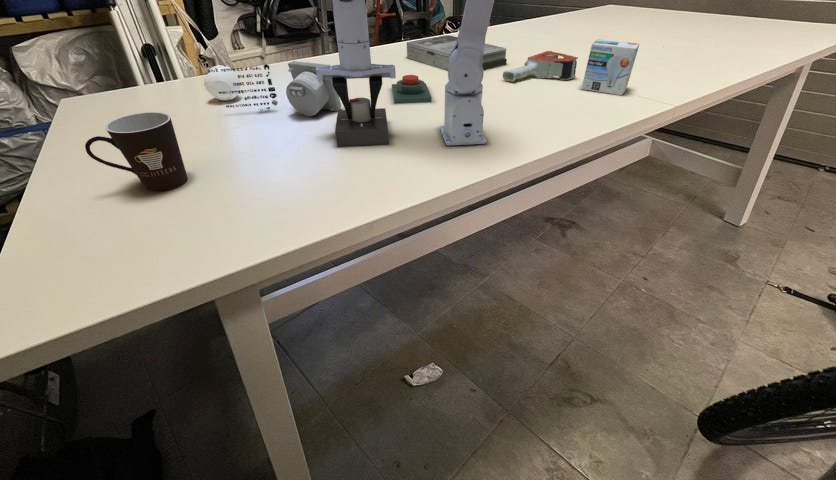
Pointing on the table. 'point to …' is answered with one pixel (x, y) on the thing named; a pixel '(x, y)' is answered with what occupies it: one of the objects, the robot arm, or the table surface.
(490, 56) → the hard drive
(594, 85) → the light bulb box
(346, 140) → the dial panel
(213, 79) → the motion sensor
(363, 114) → the knob
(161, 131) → the coffee mug
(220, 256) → the table surface
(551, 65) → the tape dispenser
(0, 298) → the table surface
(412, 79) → the button
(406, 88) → the button block
